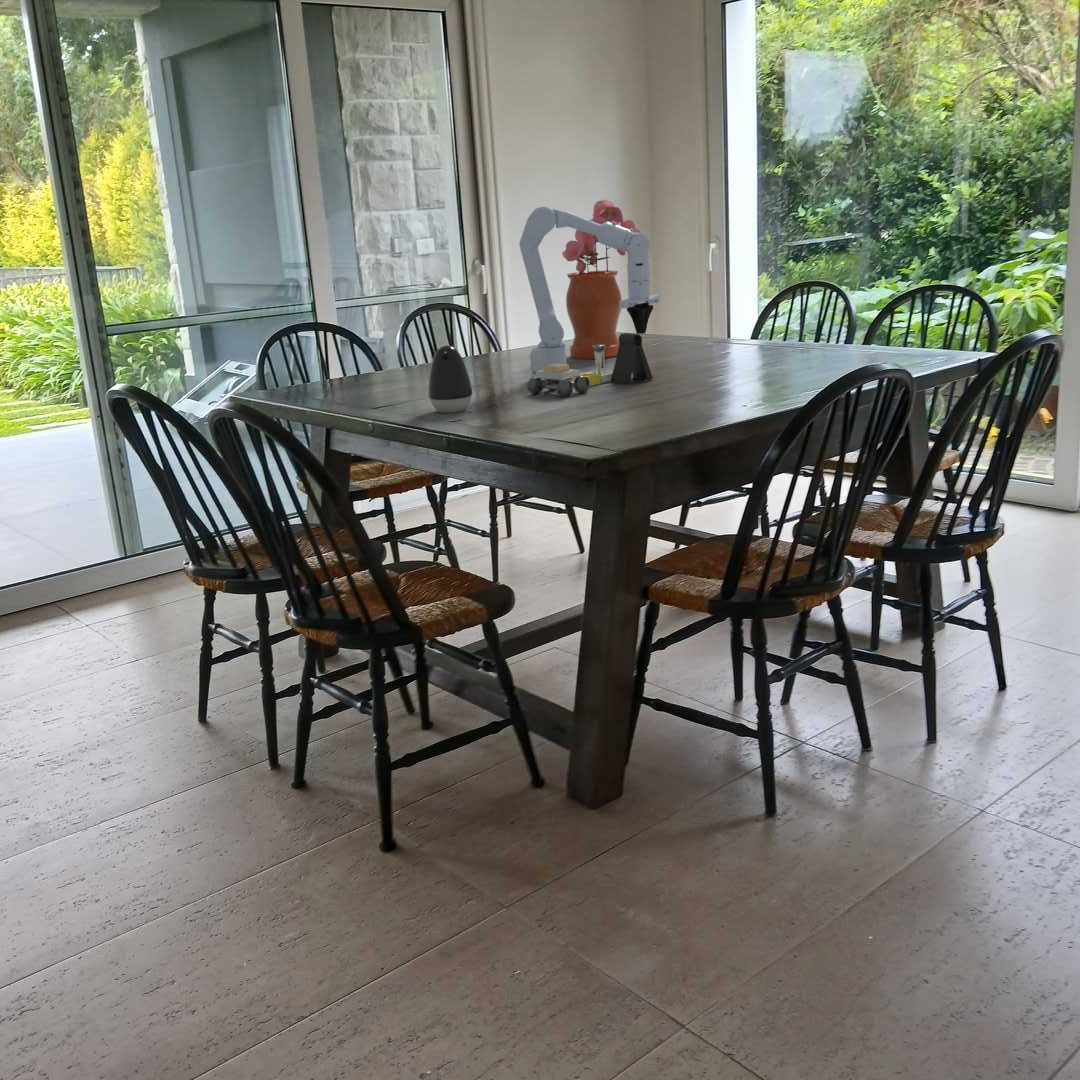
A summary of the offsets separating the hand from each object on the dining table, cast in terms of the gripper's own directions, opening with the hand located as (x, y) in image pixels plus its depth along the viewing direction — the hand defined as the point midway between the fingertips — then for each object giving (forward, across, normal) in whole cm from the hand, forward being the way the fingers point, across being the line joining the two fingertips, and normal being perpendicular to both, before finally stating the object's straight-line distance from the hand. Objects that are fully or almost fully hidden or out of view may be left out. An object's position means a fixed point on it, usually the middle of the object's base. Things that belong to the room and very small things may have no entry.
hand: (641, 333), depth 295 cm
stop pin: (+10, -14, +2) cm, 18 cm away
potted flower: (+11, +24, +35) cm, 44 cm away
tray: (+10, -14, +3) cm, 17 cm away
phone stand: (+11, -11, -5) cm, 16 cm away
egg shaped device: (+10, -62, +7) cm, 63 cm away
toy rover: (+10, -33, 0) cm, 35 cm away
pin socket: (+10, -20, +2) cm, 23 cm away
